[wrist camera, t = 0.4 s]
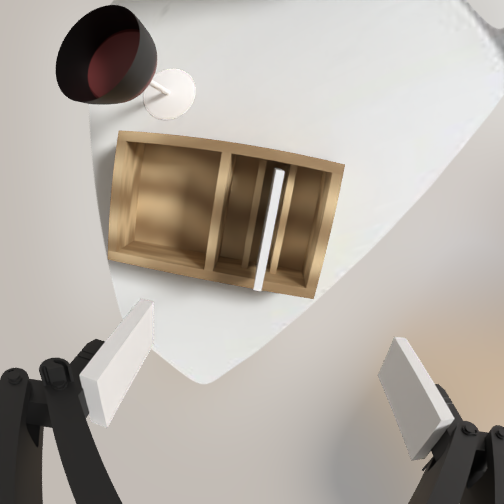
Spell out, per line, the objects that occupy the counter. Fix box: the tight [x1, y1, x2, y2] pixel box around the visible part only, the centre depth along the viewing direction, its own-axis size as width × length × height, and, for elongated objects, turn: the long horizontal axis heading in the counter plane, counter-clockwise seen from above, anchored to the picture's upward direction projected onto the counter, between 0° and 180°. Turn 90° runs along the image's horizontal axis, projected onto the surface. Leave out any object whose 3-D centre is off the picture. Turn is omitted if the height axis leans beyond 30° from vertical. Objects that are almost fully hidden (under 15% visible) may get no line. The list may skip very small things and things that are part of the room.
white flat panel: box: [253, 167, 285, 291], centre depth 35 cm, size 12×1×11 cm, turn 170°
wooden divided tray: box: [108, 131, 345, 299], centre depth 38 cm, size 16×26×7 cm, turn 80°
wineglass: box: [56, 5, 196, 120], centre depth 28 cm, size 8×9×20 cm
